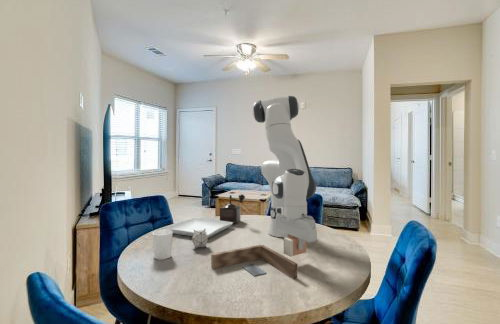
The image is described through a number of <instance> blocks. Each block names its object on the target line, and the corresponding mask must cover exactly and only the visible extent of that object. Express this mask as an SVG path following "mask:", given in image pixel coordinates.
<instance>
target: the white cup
mask: <svg viewBox="0 0 500 324" xmlns="http://www.w3.org/2000/svg"><path fill="white" fill-rule="evenodd" d="M151 233H152V249H153V258H154V259H155V260H166V259H168V258H169V259H170V258H171V257H172V249H173V236H174V235H173V234H174V233H173V231H171V230H165V229H157V230H154V231H153V232H151Z"/></svg>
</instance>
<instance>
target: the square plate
mask: <svg viewBox="0 0 500 324" xmlns="http://www.w3.org/2000/svg"><path fill="white" fill-rule="evenodd" d="M232 223H233V222H227V221H220V219H214V218H213V219H211V218H200V217H192V218H190V219H186V220H183V221H180V222H179V221H178V222H177V223H175V224H171V225H168V226H167V227H165V228H164V229H163V230H171V231H173V234H174V235H175V234H176V235H181V236H186V237H193V234H194V232H195V231H201V230H204V229H206V230H205V232H206V234H207V235H208V237H210V238H211V237H212V236H214V235H216V234H218V233H220V232H222V231H224V230H226V229H227V228H228V229H229V227H231V226H232V225H233V224H232ZM194 230H195V231H194Z"/></svg>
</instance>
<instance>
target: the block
mask: <svg viewBox="0 0 500 324" xmlns="http://www.w3.org/2000/svg"><path fill="white" fill-rule="evenodd" d="M299 242H300V241H299V238H297V237H294V236H290V237H283V254H285V255H287V256H289V257H294V256H297V255H301V254H306V253H307V242H306V241H305V242H304V244H303V249H302V250H299V249H297V244H299Z"/></svg>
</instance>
